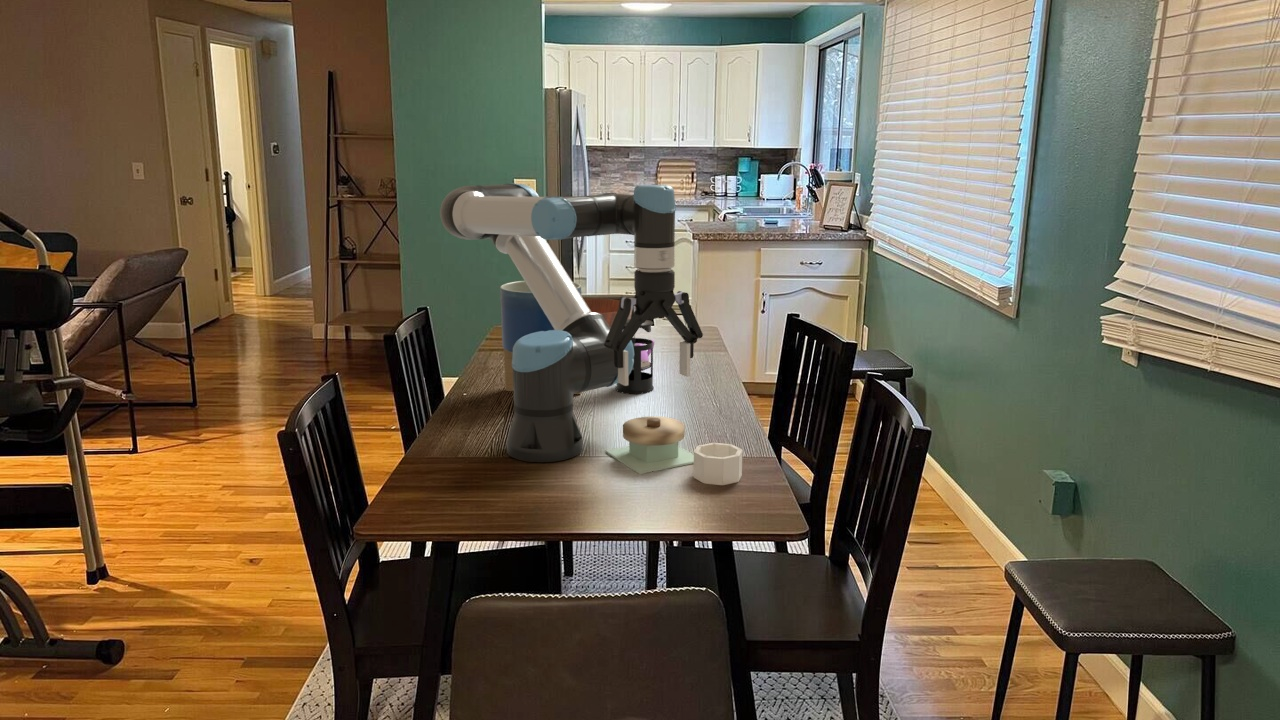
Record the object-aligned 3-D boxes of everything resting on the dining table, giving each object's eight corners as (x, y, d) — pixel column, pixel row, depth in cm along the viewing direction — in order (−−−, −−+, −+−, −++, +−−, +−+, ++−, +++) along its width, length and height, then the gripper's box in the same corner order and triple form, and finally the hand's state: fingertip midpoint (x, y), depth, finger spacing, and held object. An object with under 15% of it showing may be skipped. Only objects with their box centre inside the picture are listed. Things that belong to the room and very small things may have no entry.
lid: (641, 449, 172) (641, 432, 171) (612, 431, 182) (611, 416, 182) (696, 439, 178) (696, 423, 177) (664, 422, 188) (664, 407, 187)
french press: (657, 394, 225) (657, 300, 220) (618, 395, 224) (618, 301, 218) (648, 381, 237) (649, 292, 231) (612, 383, 235) (611, 293, 230)
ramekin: (711, 487, 165) (711, 461, 164) (686, 473, 172) (686, 447, 171) (749, 479, 169) (750, 453, 168) (723, 465, 176) (724, 440, 175)
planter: (519, 380, 238) (515, 278, 232) (591, 384, 234) (590, 280, 228) (492, 400, 220) (488, 290, 214) (570, 405, 216) (568, 293, 210)
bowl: (561, 333, 295) (560, 297, 292) (638, 335, 291) (638, 299, 289) (542, 351, 271) (541, 312, 268) (626, 353, 267) (626, 314, 265)
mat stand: (639, 474, 172) (639, 451, 171) (605, 452, 184) (605, 431, 183) (703, 461, 179) (703, 439, 178) (666, 441, 190) (666, 420, 189)
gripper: (603, 276, 163) (605, 392, 168) (721, 266, 175) (719, 375, 180) (585, 271, 170) (587, 383, 175) (700, 262, 181) (698, 367, 186)
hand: (654, 379), depth 177 cm, fingers open, 13 cm apart
